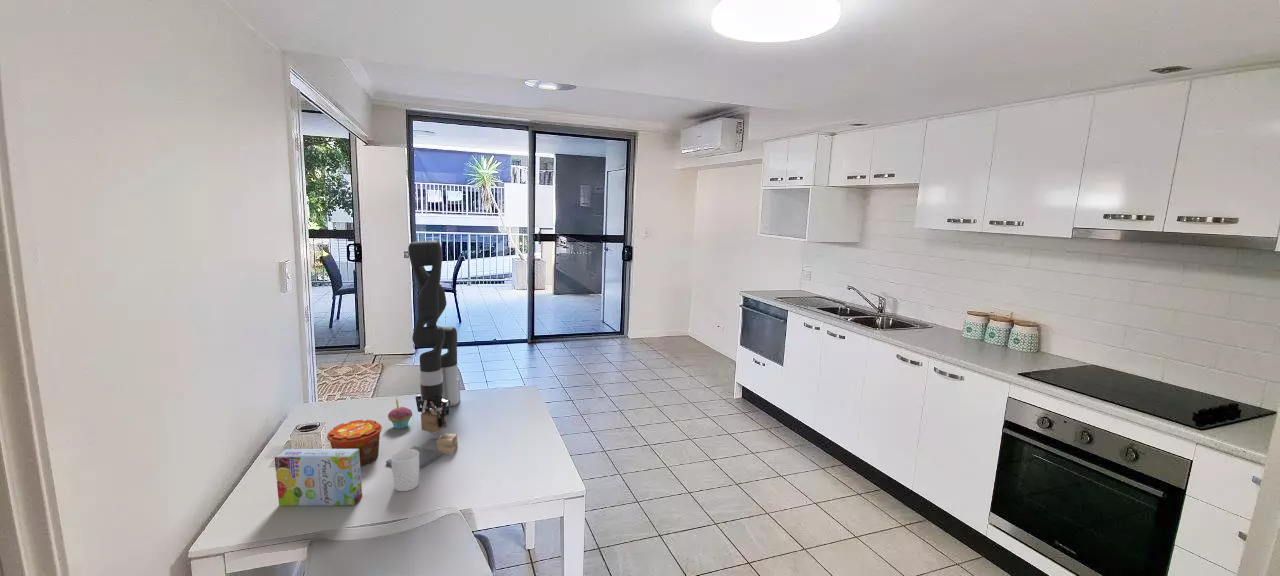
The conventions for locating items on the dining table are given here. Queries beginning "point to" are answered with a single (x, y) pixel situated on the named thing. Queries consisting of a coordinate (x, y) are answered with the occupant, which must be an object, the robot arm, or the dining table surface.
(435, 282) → the robot arm
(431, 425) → the walnut block
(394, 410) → the cupcake
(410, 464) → the white cup
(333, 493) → the snack box
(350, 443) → the food container
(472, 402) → the dining table surface
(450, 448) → the oak block
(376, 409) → the dining table surface
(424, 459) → the slate coaster
